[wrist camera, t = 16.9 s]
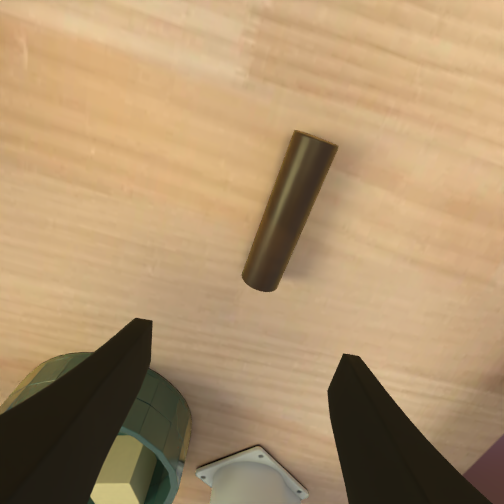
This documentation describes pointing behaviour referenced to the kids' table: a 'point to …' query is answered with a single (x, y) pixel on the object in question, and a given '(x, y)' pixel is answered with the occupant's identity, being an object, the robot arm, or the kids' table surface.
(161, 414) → the bowl
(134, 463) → the cream block
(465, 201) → the kids' table surface
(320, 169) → the dark brown cylinder
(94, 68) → the kids' table surface
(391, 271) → the kids' table surface
